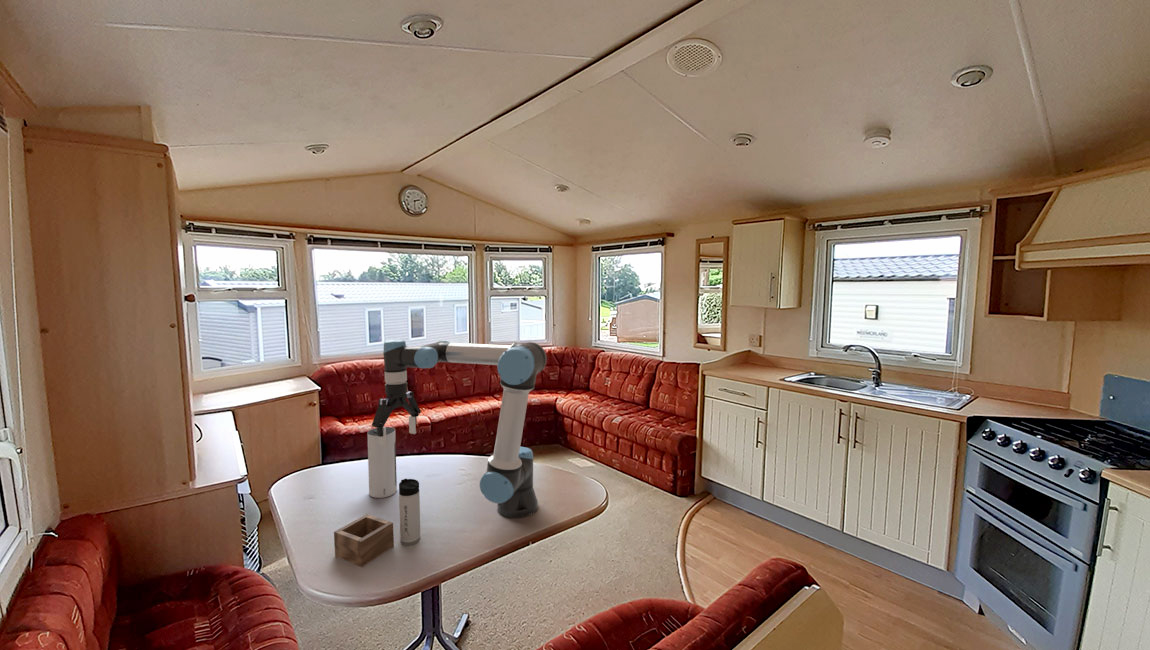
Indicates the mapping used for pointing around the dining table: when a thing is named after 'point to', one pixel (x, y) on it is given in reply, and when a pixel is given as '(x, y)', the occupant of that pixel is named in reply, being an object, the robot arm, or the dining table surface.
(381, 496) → the speaker
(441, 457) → the dining table surface
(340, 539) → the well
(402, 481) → the travel mug
